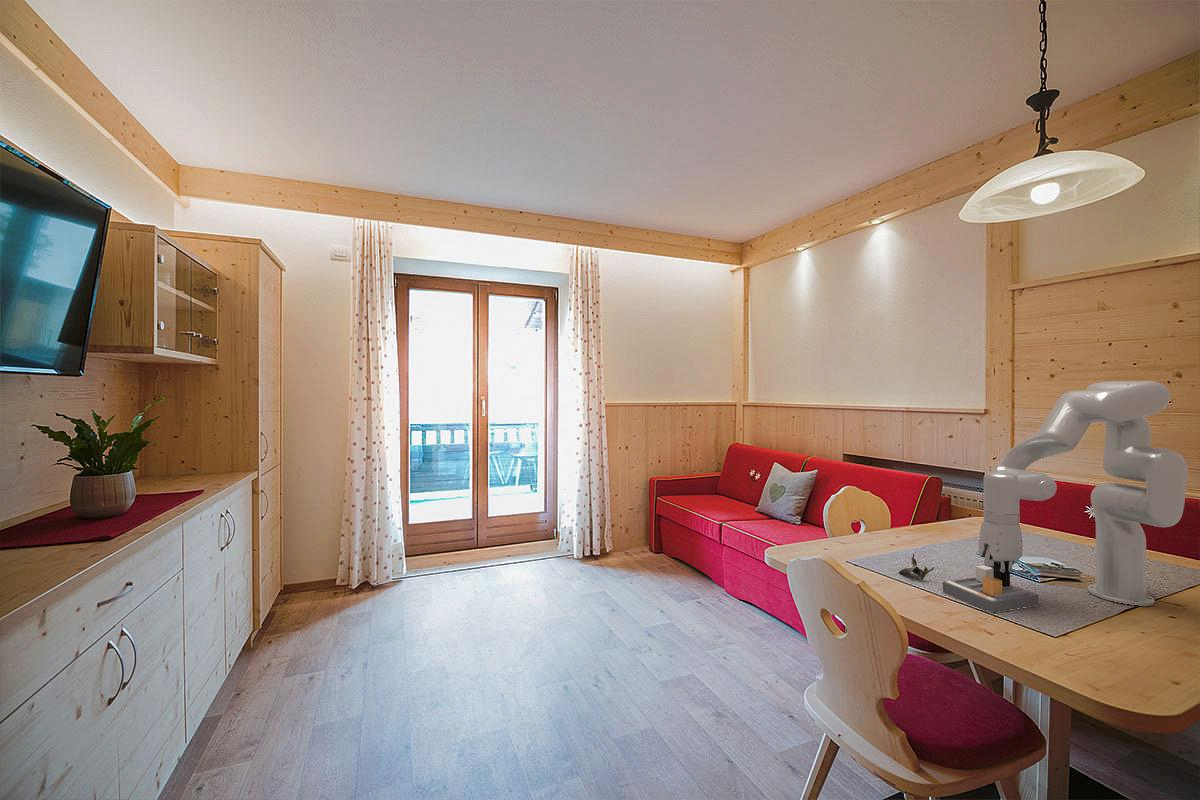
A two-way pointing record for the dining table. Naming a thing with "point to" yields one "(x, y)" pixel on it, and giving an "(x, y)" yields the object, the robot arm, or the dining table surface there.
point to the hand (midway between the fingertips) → (1001, 584)
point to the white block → (983, 572)
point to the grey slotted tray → (974, 594)
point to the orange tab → (992, 586)
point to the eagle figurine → (916, 569)
